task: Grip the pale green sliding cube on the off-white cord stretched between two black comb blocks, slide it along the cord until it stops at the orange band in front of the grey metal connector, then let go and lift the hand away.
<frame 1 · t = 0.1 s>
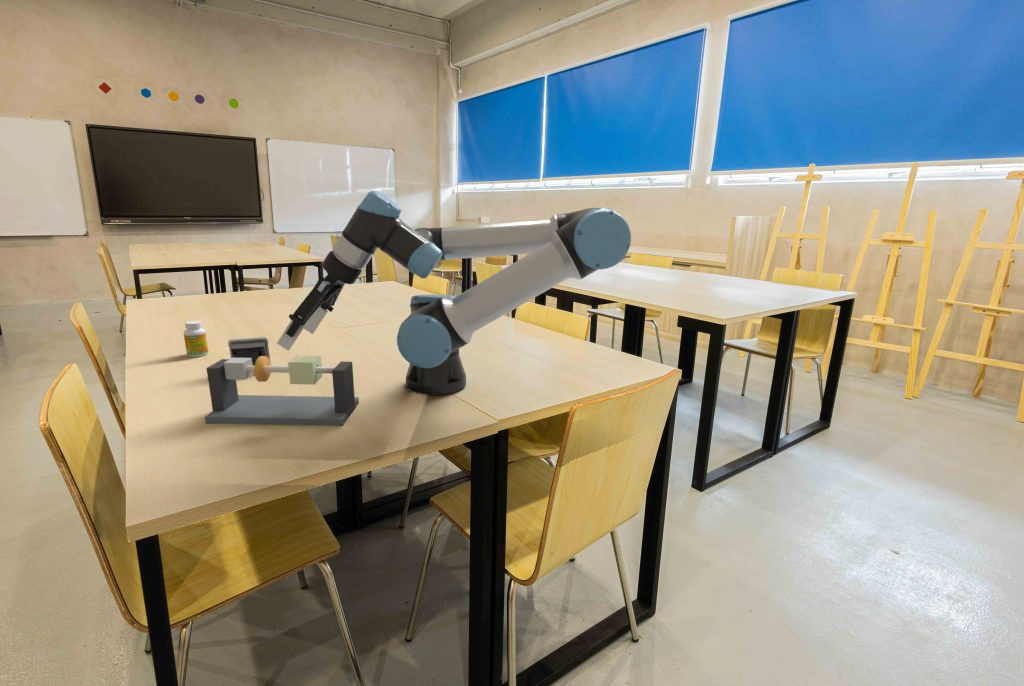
hand: (296, 338, 112), 15 cm above the table, tool tilted 35°, fingers open, 13 cm apart
pale green sliding cube: (305, 369, 108), point 10 cm above the table, slide at 0.0 cm
electrical switch: (253, 371, 136), on the table
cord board: (286, 412, 110), on the table
supplement bottle: (198, 355, 148), on the table
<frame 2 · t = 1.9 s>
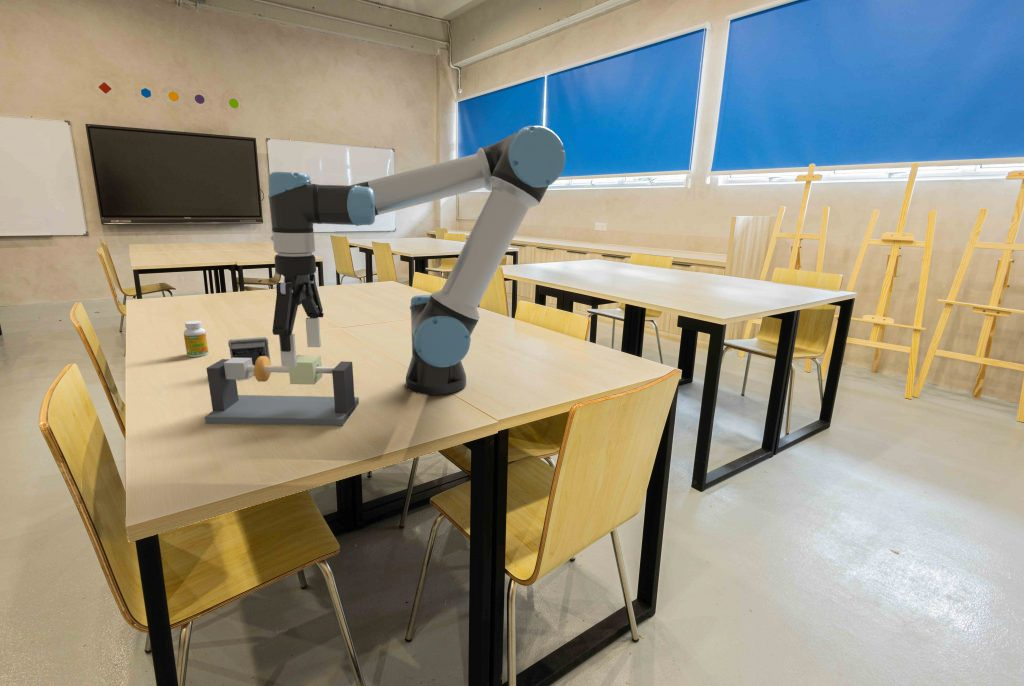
hand: (302, 356, 107), 13 cm above the table, tool pointing down, fingers open, 13 cm apart
nothing on the table moved.
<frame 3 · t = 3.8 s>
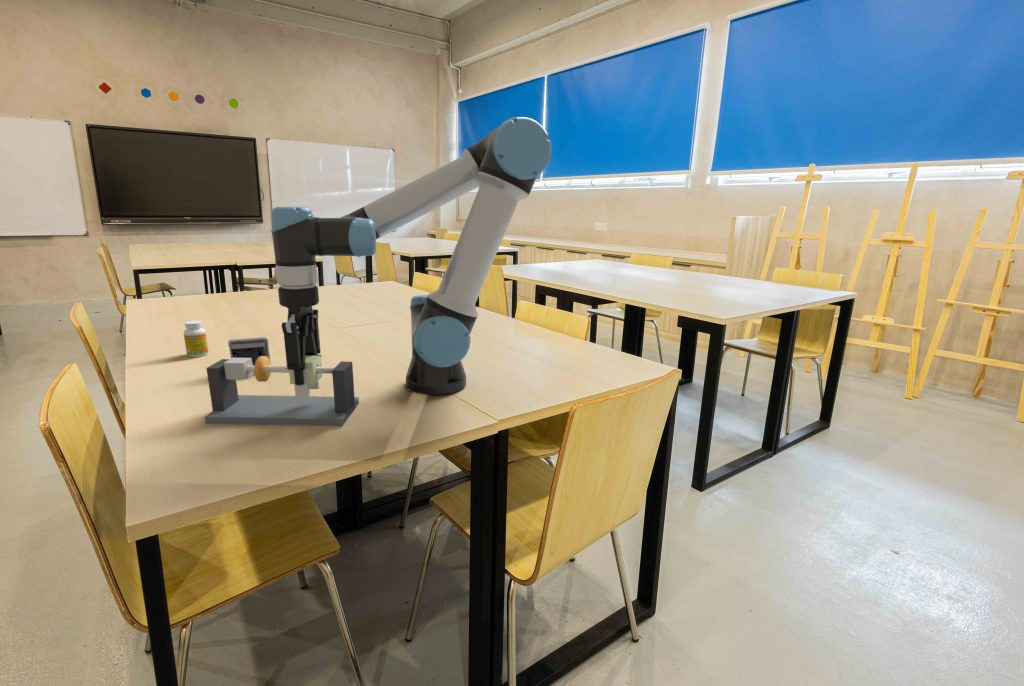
hand: (307, 392, 109), 5 cm above the table, tool pointing down, fingers closed on pale green sliding cube, 5 cm apart
pale green sliding cube: (305, 369, 108), point 10 cm above the table, slide at 0.0 cm, touching gripper
everything else where it was.
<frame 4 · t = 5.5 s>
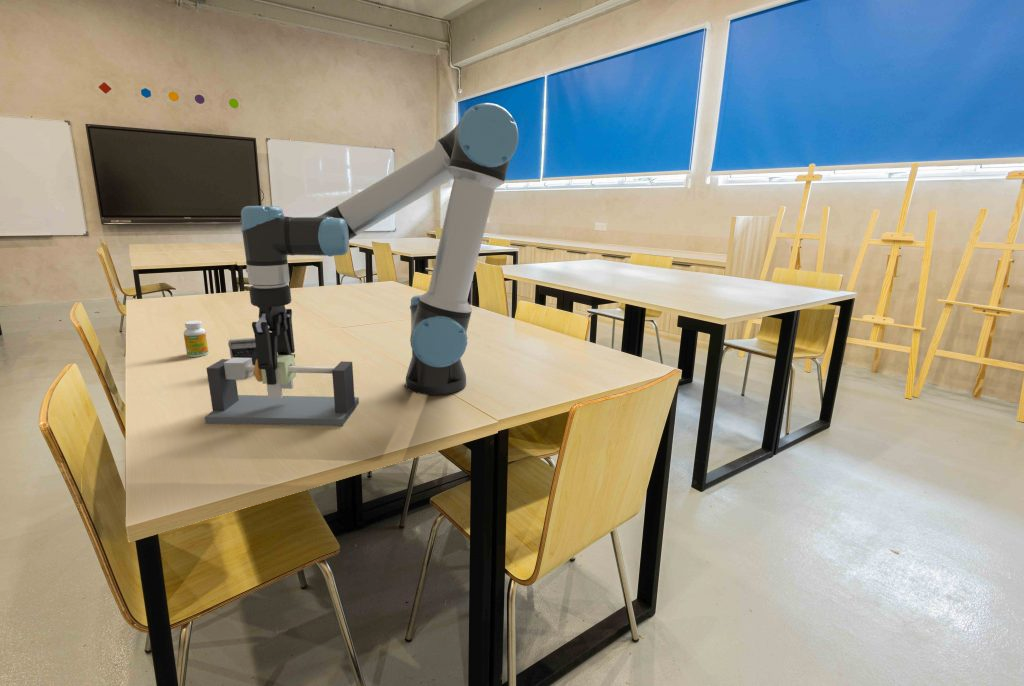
hand: (281, 392, 109), 5 cm above the table, tool pointing down, fingers closed on pale green sliding cube, 5 cm apart
pale green sliding cube: (278, 369, 108), point 10 cm above the table, slide at 5.7 cm, touching gripper
everything else where it was.
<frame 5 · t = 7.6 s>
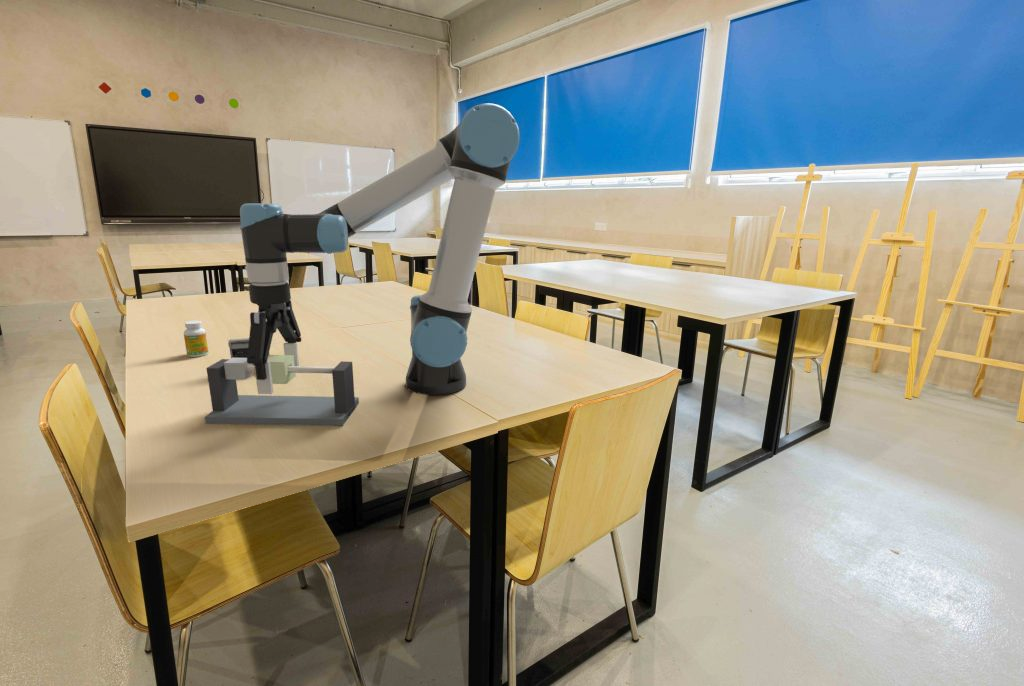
hand: (280, 381, 108), 7 cm above the table, tool pointing down, fingers open, 13 cm apart
pale green sliding cube: (278, 369, 108), point 10 cm above the table, slide at 5.8 cm
everything else where it was.
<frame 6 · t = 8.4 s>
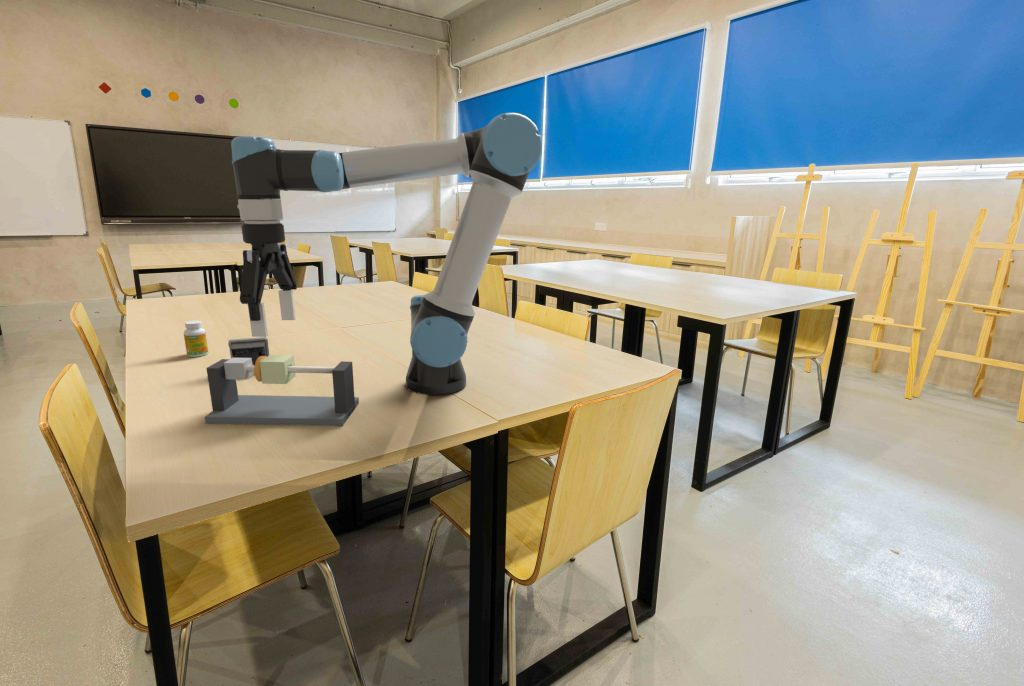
hand: (275, 327, 105), 19 cm above the table, tool pointing down, fingers open, 13 cm apart
nothing on the table moved.
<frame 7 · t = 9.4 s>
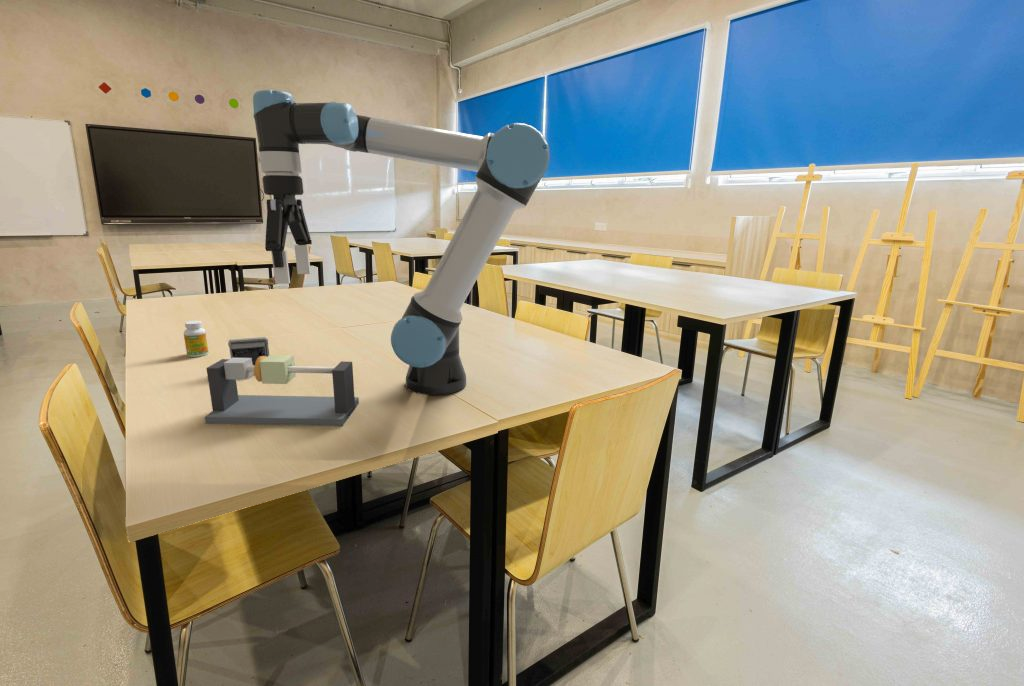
hand: (294, 278, 110), 28 cm above the table, tool pointing down, fingers open, 13 cm apart
nothing on the table moved.
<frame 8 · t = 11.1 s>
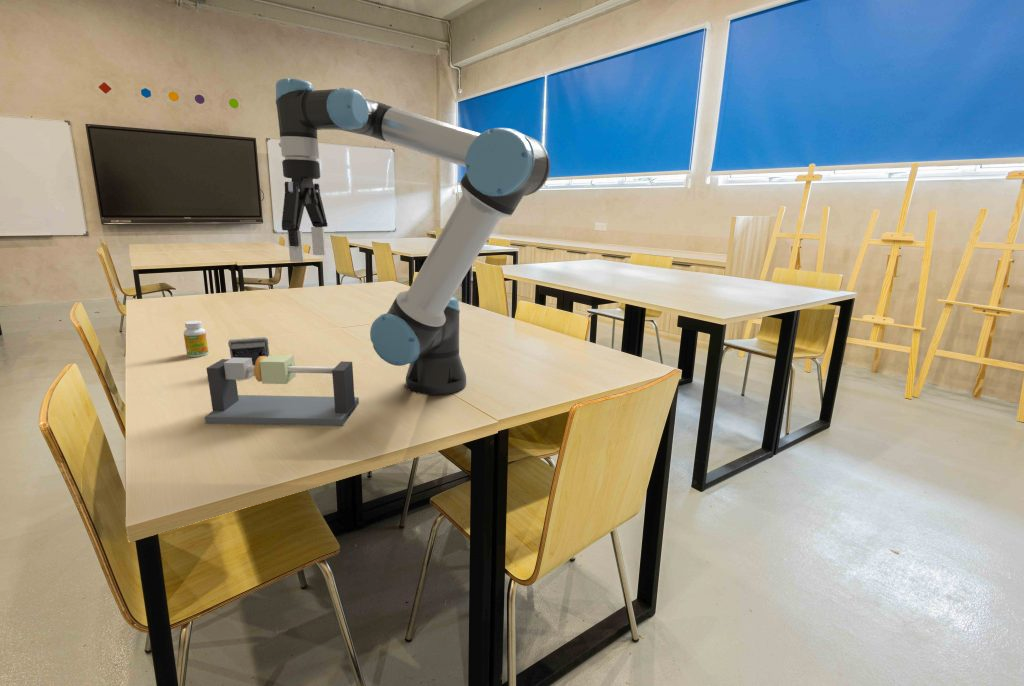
hand: (309, 258, 116), 32 cm above the table, tool pointing down, fingers open, 13 cm apart
nothing on the table moved.
at the end: pale green sliding cube slide at 5.8 cm; the gripper is holding nothing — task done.
